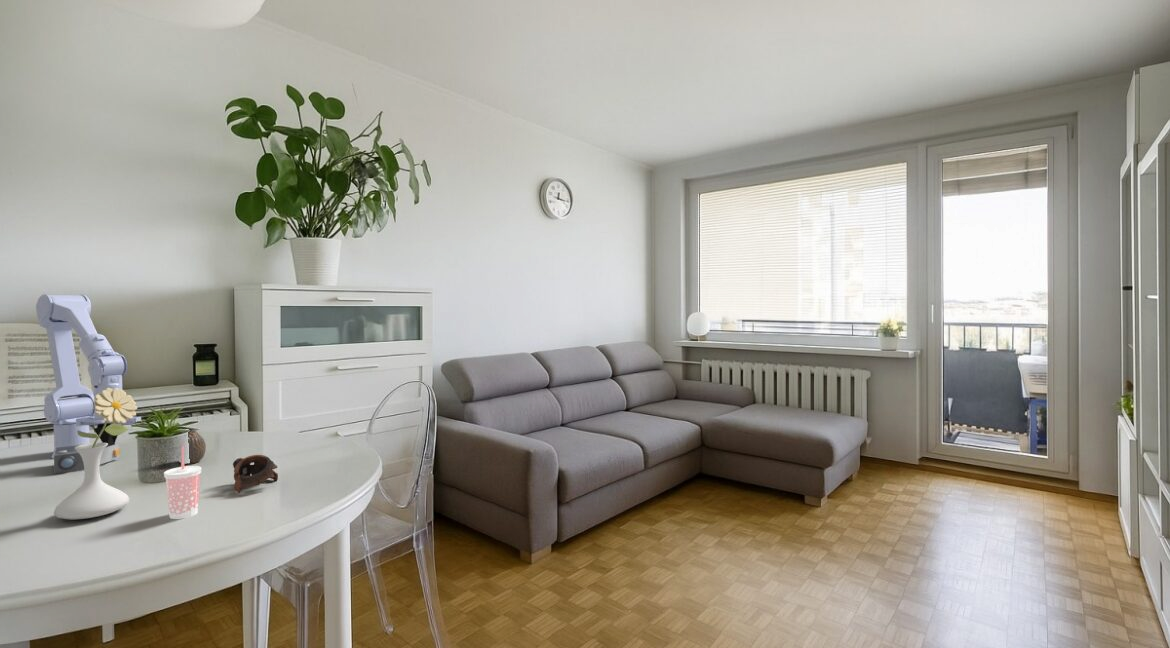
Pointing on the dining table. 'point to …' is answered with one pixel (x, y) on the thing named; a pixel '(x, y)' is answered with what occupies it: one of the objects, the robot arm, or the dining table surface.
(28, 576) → the dining table surface
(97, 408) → the flower in vase
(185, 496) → the beverage cup
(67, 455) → the camera body
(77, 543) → the dining table surface
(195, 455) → the brown ribbed ovoid
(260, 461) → the brown curved piece
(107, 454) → the side door
